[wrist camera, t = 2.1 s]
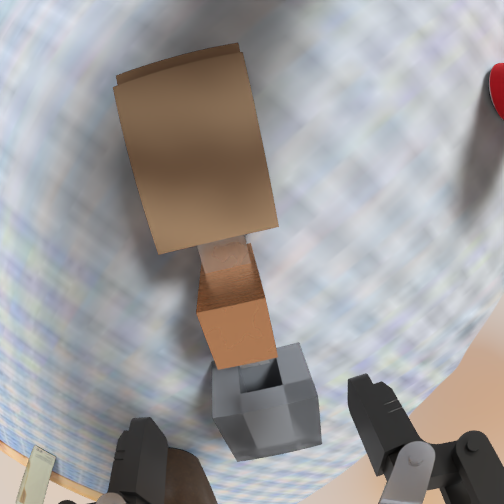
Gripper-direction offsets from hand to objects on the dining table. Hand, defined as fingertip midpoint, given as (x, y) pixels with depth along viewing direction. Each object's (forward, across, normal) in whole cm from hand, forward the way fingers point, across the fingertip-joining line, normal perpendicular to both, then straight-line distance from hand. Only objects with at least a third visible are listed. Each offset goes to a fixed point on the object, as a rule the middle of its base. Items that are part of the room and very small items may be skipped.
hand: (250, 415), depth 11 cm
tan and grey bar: (+12, 0, -3) cm, 13 cm away
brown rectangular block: (+13, 0, -9) cm, 16 cm away
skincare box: (+14, +41, +27) cm, 51 cm away
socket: (+13, 0, +12) cm, 18 cm away
